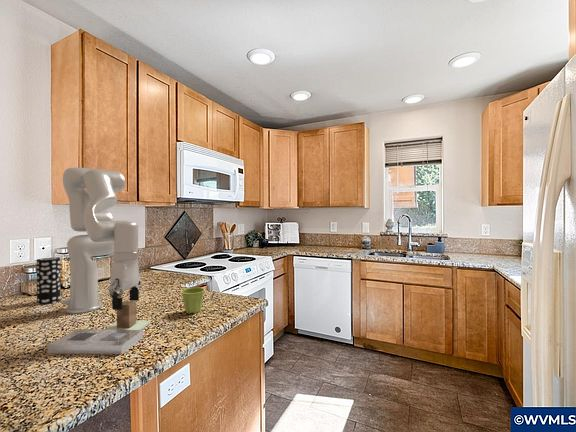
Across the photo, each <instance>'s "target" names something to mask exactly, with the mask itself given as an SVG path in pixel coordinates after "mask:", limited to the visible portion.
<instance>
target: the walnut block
mask: <svg viewBox="0 0 576 432" xmlns="http://www.w3.org/2000/svg"><path fill="white" fill-rule="evenodd" d="M136 321H137V301H130V300H128V301H125V300H124V301H122V309H121V310H116V322H117V328H130V327H132V326H133V325H135V324H136Z"/></svg>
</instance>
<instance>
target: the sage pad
mask: <svg viewBox="0 0 576 432" xmlns="http://www.w3.org/2000/svg"><path fill="white" fill-rule="evenodd" d="M150 324H151V321H150V320H149V321H148V320H136V324H135V325H133V326H132V327H130V328H117V321H116V322H114V323H112V324H110V325H109V326H107V327H105V328H104V329H103V330H144V328H146V327H148V326H149V325H150Z"/></svg>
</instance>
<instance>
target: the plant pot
mask: <svg viewBox="0 0 576 432" xmlns="http://www.w3.org/2000/svg"><path fill="white" fill-rule="evenodd" d="M205 291H206V289H205V288H203V287H188V288H185V289H182V290H181V291H180V293H181V296H182V298H183V305H184V310H185V313H187V314H192V313H193V314H197V313H200V312H201V310H202V305H203V297H204V293H205Z"/></svg>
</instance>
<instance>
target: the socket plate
mask: <svg viewBox="0 0 576 432" xmlns="http://www.w3.org/2000/svg"><path fill="white" fill-rule="evenodd" d="M143 338H144V329H142V330H104V329H99V328H98V329H94V328H93V329H91V328H90V329H89V328H88V329H87V328H85V329H83V328H80V329H79V328H76V329H75V330H73V331H71V332H69V333H67V334H65V335H64V336H61V337H59V338H58V339H55V340H54V341H52V342H50V343H48V344H47V354H74V355H75V354H79V355H82V354H83V355H86V354H88V355H90V354H91V355H94V354H95V355H122V354H124V353H125V352H127V350H129V349H130V348H132V347H133V346H134V345H135V344H136V343H139V341H141V340H142V339H143Z"/></svg>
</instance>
